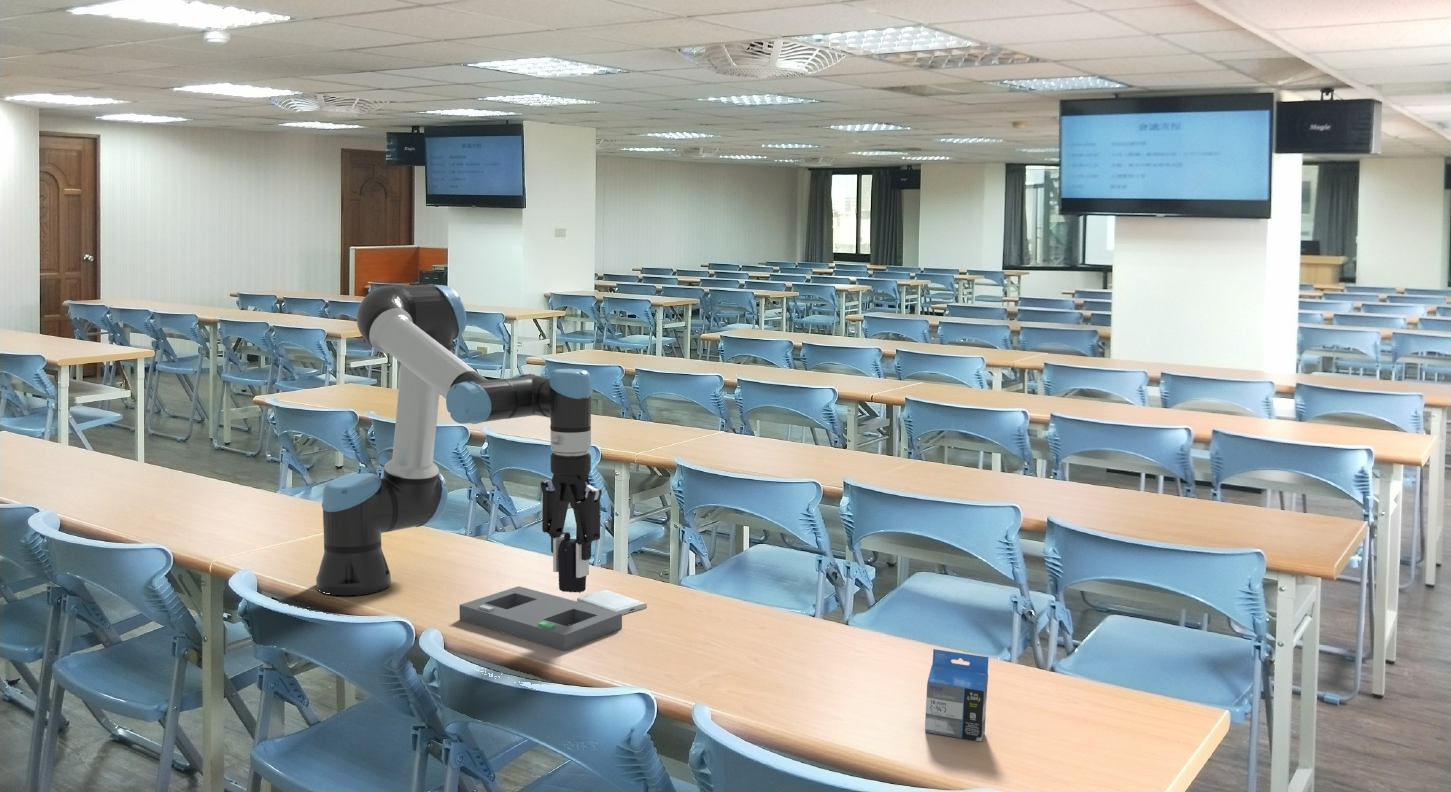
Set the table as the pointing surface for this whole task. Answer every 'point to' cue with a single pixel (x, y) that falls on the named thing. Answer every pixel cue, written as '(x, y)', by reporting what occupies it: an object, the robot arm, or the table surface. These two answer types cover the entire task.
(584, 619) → the charging base
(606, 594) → the hard drive
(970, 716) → the label tape cartridge
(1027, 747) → the table surface
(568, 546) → the two-way radio
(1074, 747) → the table surface
